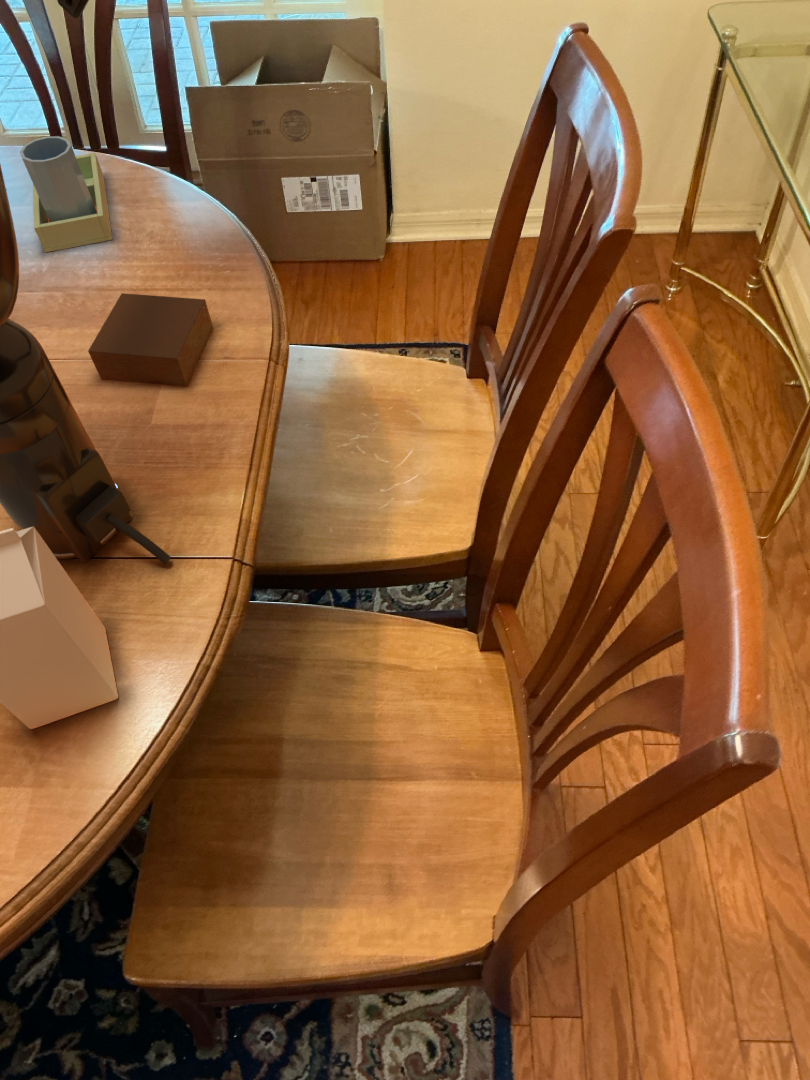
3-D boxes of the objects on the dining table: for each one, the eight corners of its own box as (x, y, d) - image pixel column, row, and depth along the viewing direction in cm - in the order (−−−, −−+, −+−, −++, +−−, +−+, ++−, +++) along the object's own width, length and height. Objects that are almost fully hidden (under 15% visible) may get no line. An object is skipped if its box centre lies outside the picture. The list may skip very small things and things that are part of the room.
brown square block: (213, 327, 90) (205, 299, 87) (186, 386, 84) (177, 358, 81) (132, 321, 91) (121, 292, 88) (100, 379, 85) (87, 351, 82)
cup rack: (103, 176, 110) (95, 152, 107) (112, 239, 101) (103, 215, 98) (42, 187, 109) (32, 163, 106) (45, 252, 100) (34, 228, 97)
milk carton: (119, 699, 63) (18, 571, 47) (30, 731, 61) (-104, 609, 46) (106, 628, 67) (8, 489, 51) (22, 657, 65) (-105, 522, 50)
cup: (108, 218, 103) (80, 143, 95) (74, 241, 100) (43, 166, 92) (77, 206, 105) (47, 131, 97) (43, 228, 102) (9, 153, 94)
